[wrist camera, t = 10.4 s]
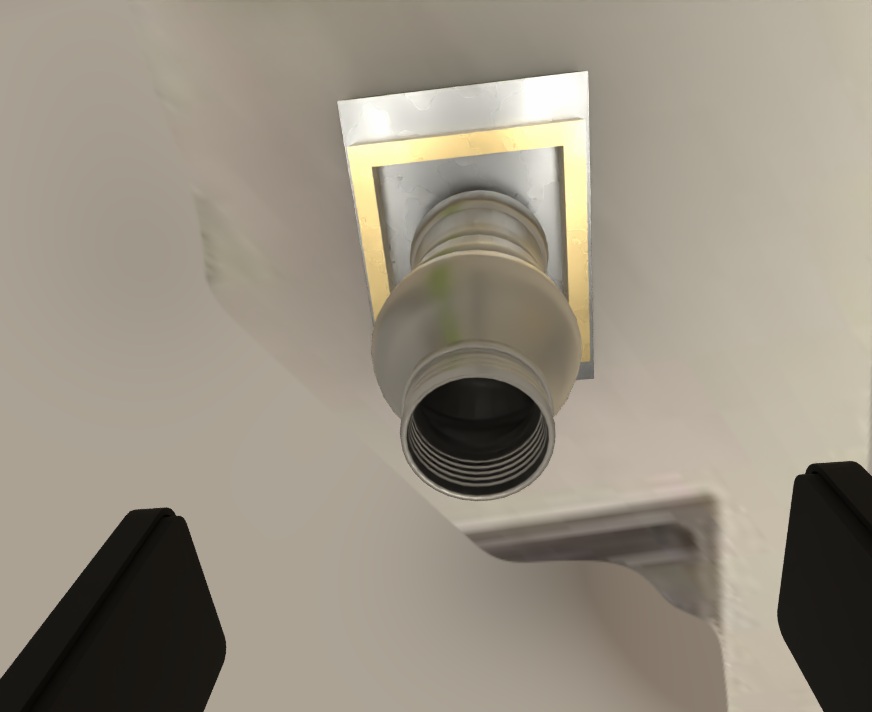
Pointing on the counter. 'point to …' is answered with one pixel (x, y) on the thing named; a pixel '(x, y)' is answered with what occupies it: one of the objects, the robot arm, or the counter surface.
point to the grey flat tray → (475, 173)
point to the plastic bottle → (477, 348)
